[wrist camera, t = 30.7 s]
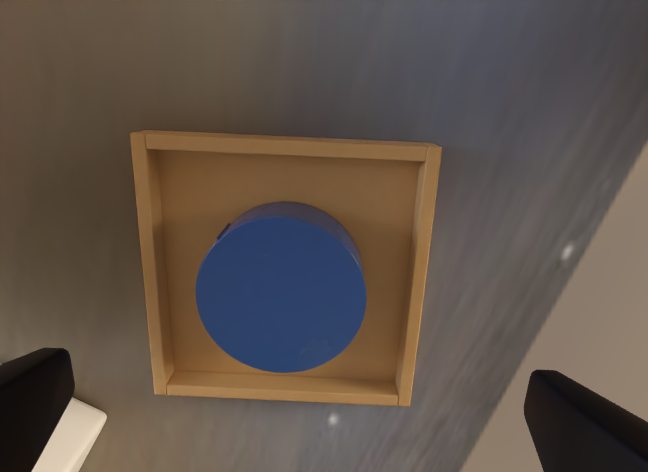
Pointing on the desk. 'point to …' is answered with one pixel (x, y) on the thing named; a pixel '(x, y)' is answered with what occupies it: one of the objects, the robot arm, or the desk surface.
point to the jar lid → (282, 288)
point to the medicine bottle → (71, 438)
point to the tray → (295, 186)
